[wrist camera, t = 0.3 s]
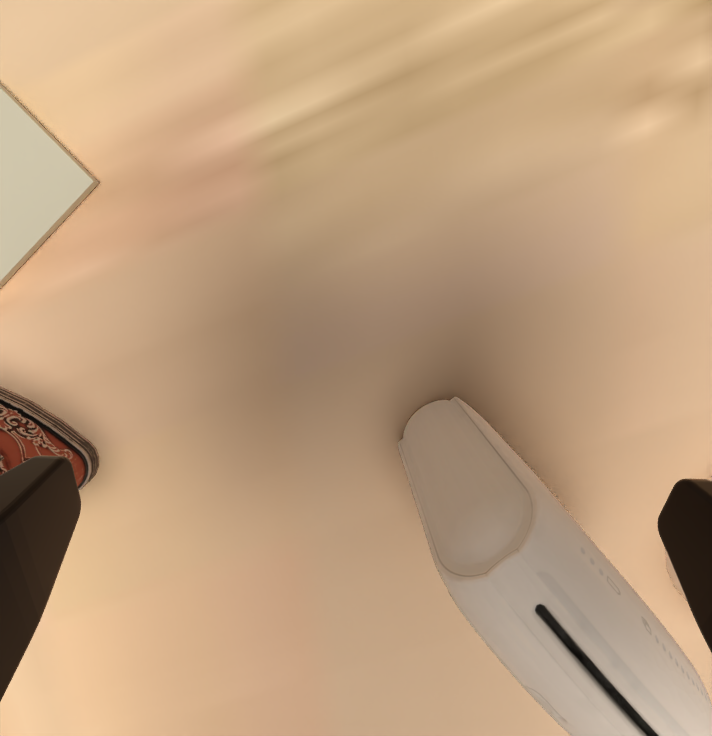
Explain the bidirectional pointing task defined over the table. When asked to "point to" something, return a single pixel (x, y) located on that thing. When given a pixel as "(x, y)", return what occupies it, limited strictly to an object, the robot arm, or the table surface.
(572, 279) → the table surface
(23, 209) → the mat
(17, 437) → the lighter
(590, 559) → the photo printer
